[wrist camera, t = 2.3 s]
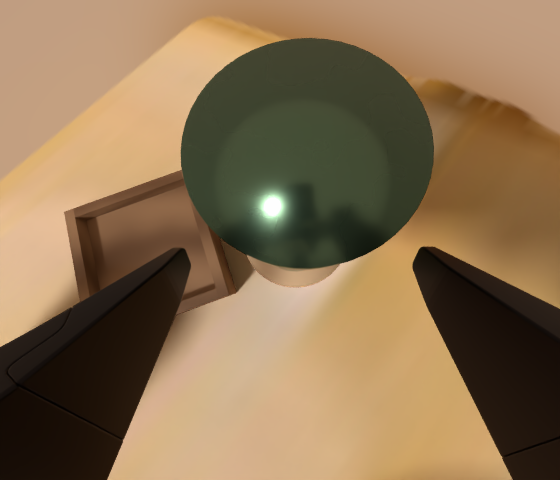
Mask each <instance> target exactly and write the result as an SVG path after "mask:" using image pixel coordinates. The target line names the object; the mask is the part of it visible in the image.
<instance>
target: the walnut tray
mask: <svg viewBox="0 0 560 480" xmlns="http://www.w3.org/2000/svg"><path fill="white" fill-rule="evenodd" d="M64 213H65V219H66V225H67V230H68V236H69V242H70V247H71V253H72V259H73V264H74V270H75V276H76V281H77V287H78V292H79V298H80V302H81V301H83V300H85V299H86V298H88V297H90V296H91V295H93V294H95V293H96V292H98V291H100V290H102V289H103V288H105V287H107V286H108V285H110V284H112V283H113V282H115V281H117V280H119V279H120V278H122V277H124V276H125V275H127V274H129V273H130V272H132V271H134V270H136V269H137V268H139V267H141V266H142V265H144V264H146V263H148V262H149V261H151V260H153V259H154V258H156V257H158V256H159V255H161V254H163V253H165V252H166V251H168V250H170V249H171V248H174V247H183V248H185V250H186V252H187V254H188V257H189V260H190V262H191V270H190V273H189V276H188V280H187V283H186V287H185V290H184V294H183V297H182V300H181V303H180V306H179V308H178V311H177V313H176V315H177V314H180V313H183V312H186V311H188V310H191V309H194V308H197V307H199V306H202V305H205V304H207V303H210V302H213V301H216V300H218V299H221V298H224V297H227V296H229V295H232V294H235V293H236V290H235V287H234V283H233V280H232V277H231V274H230V271H229V267H228V264H227V261H226V258H225V255H224V251H223V248H222V245H221V242H220V239H219V236H218V235H217V234H216V233H215V232H214V231H213V230H212V229H211V228H210V227H209V226H208V225H207V224H206V223H205V222H204V220H203V219H202V217H201V216H200V214H199V213H198V211H197V210H196V208H195V206H194V204H193V202H192V200H191V198H190V196H189V194H188V191H187V188H186V185H185V182H184V178H183V173H182V170H180V171H177V172H174V173H172V174H169V175H166V176H163V177H160V178H158V179H155V180H152V181H149V182H146V183H144V184H141V185H138V186H135V187H133V188H130V189H127V190H124V191H121V192H119V193H116V194H113V195H110V196H107V197H105V198H102V199H99V200H96V201H94V202H91V203H88V204H85V205H82V206H80V207H77V208H74V209H71V210H68V211H66V212H64Z"/></svg>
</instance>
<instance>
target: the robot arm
mask: <svg viewBox="0 0 560 480" xmlns="http://www.w3.org/2000/svg"><path fill="white" fill-rule="evenodd" d="M190 270H191V262H190V260H189V257H188V254H187V252H186V250H185V248H183V247H174V248H171V249H170V250H168V251H166V252H165V253H163V254H161V255H159V256H158V257H156V258H154V259H153V260H151V261H149V262H148V263H146V264H144V265H142V266H141V267H139V268H137V269H136V270H134V271H132V272H130V273H129V274H127V275H125V276H124V277H122V278H120V279H119V280H117V281H115V282H113V283H112V284H110V285H108V286H107V287H105V288H103V289H102V290H100V291H98V292H96V293H95V294H93V295H91V296H90V297H88V298H86V299H85V300H83V301H81V302H79V303H78V304H76V305H74V306H73V308H69V309H67V310H66V311H64V312H62V313H61V314H59V315H57V316H56V317H54V318H52V319H50V320H49V321H47V322H45V323H43V324H42V325H40V326H38V327H36V328H35V329H33V330H31V331H29V332H27V333H25V334H24V335H22V336H20V337H18V338H16V339H14V340H12V341H11V342H9V343H7V344H5V345H3V346H1V347H0V480H107V479H108V476H109V474H110V472H111V469H112V467H113V464H114V462H115V460H116V457H117V455H118V452H119V450H120V448H121V445H122V443H123V439H124V438H125V435H126V433H127V430H128V428H129V426H130V423H131V421H132V418H133V416H134V414H135V411H136V409H137V406H138V404H139V402H140V399H141V397H142V394H143V392H144V390H145V387H146V385H147V383H148V380H149V378H150V375H151V373H152V371H153V368H154V366H155V363H156V361H157V359H158V356H159V354H160V351H161V349H162V347H163V344H164V342H165V339H166V337H167V335H168V332H169V330H170V327H171V325H172V323H173V320H174V318H175V315H176V313H177V311H178V308H179V306H180V303H181V300H182V297H183V294H184V290H185V287H186V283H187V280H188V276H189V273H190ZM413 271H414V274H415V276H416V279H417V282H418V285H419V287H420V290H421V293H422V295H423V298H424V301H425V303H426V306H427V308H428V310H429V312H430V314H431V316H432V318H433V320H434V322H435V324H436V326H437V328H438V330H439V332H440V334H441V336H442V338H443V340H444V342H445V344H446V346H447V348H448V350H449V352H450V354H451V356H452V358H453V360H454V362H455V364H456V366H457V368H458V370H459V372H460V374H461V376H462V378H463V380H464V382H465V384H466V386H467V388H468V390H469V392H470V394H471V396H472V398H473V400H474V402H475V404H476V406H477V408H478V410H479V412H480V414H481V416H482V419H483V421H484V423H485V425H486V427H487V429H488V431H489V433H490V435H491V437H492V439H493V441H494V443H495V445H496V447H497V449H498V451H499V453H500V455H501V456H502V459H503V461H504V463H505V465H506V467H507V469H508V471H509V473H510V475H511V477H512V479H513V480H560V309H559V308H557V307H555V306H553V305H551V304H549V303H547V302H545V301H543V300H541V299H539V298H536V297H534V296H532V295H530V294H528V293H526V292H524V291H522V290H520V289H518V288H516V287H514V286H512V285H510V284H508V283H506V282H504V281H502V280H500V279H498V278H496V277H494V276H492V275H490V274H488V273H486V272H484V271H482V270H480V269H478V268H476V267H474V266H472V265H470V264H468V263H466V262H464V261H462V260H460V259H458V258H456V257H454V256H452V255H450V254H448V253H446V252H444V251H442V250H440V249H438V248H436V247H421V248H420V249H419V251H418V253H417V255H416V257H415V259H414V262H413Z"/></svg>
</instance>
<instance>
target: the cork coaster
mask: <svg viewBox="0 0 560 480" xmlns="http://www.w3.org/2000/svg"><path fill="white" fill-rule="evenodd" d="M247 257H248V259H249V261H250V263H251V264H252V266H253V267H254V268H255V269H256V270H257V272H258V273H259V274H261V275H262V276H263V277H264V278H266V279H268V280H269V281H271V282H273V283H275V284H278V285H282V286H286V287H305V286H309V285H313V284H315V283H318V282H320V281H322V280H323V279H325V278H326V277H328V276H329V275H330V274H331V273H332V272H333V271H334V270H335V269H336V268H337V267H338V265H339V264H336V265H332V266H328V267H324V268H320V269H311V270H303V271H287V270H283V269H281V268H278V267H275V266H272V265H268V264H266V263H264V262H261V261H259V260H257V259H255V258H253V257H250V256H248V255H247Z"/></svg>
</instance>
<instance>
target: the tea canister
mask: <svg viewBox="0 0 560 480" xmlns="http://www.w3.org/2000/svg"><path fill="white" fill-rule="evenodd" d="M433 156H434V145H433V136H432V130H431V126H430V123H429V119H428V116H427V114H426V111H425V109H424V107H423V104H422V102H421V101H420V99H419V97H418V96H417V94H416V92H415V91H414V89H413V88H412V87H411V86H410V84H409V83H408V82H407V81H406V79H405V78H404V77H403V76H402V75H400V74H399V73H398V72H397V71H396V70H395V69H394V68H393V67H392V66H390V65H389V64H387V63H386V62H385V61H383V60H382V59H380V58H379V57H377V56H375V55H373V54H372V53H370V52H368V51H365V50H363V49H361V48H358V47H356V46H353V45H350V44H346V43H343V42H339V41H333V40H328V39H315V38H302V39H291V40H284V41H279V42H275V43H271V44H267V45H265V46H262V47H259V48H257V49H254V50H252V51H250V52H248V53H246V54H244V55H242V56H240V57H239V58H237V59H236V60H234V61H233V62H231V63H230V64H228V65H227V66H225V67H224V68H223V69H222V70H221V71H220V72H218V73H217V74H216V75H215V76H214V77H213V78H212V79H211V81H210V82H209V83H208V84H207V85H206V86H205V88H204V89H203V90H202V92H201V93H200V94H199V96H198V97H197V99H196V101H195V103H194V105H193V106H192V108H191V110H190V113H189V115H188V118H187V121H186V123H185V127H184V132H183V136H182V144H181V167H182V173H183V178H184V182H185V185H186V188H187V191H188V194H189V196H190V198H191V200H192V202H193V204H194V206H195V208H196V210H197V211H198V213H199V214H200V216H201V217H202V219H203V220H204V222H205V223H206V224H207V225H208V226H209V227H210V228H211V229H212V230H213V231H214V232H215V233H216V234H217V235H218V236H219V237H220V238H222V239H223V240H224V241H225V242H226V243H228V244H229V245H231V246H232V247H234V248H236V249H237V250H239V251H241V252H242V253H244V254H246V255H248V256H250V257H253V258H255V259H257V260H259V261H261V262H264V263H266V264H268V265H272V266H275V267H278V268H281V269H283V270H287V271H303V270H311V269H320V268H324V267H328V266H332V265H336V264H340V263H344V262H348V261H351V260H353V259H356V258H358V257H361V256H363V255H366V254H367V253H369V252H371V251H373V250H374V249H376V248H378V247H380V246H381V245H383V244H384V243H385V242H387V241H388V240H389V239H390V238H392V237H393V236H394V235H396V233H397V232H398V231H399V230H400V229H401V228H402V227H403V226H404V225H405V224H406V223H407V222H408V221H409V219H410V218H411V217H412V215H413V214H414V213H415V211H416V210H417V208H418V206H419V204H420V203H421V201H422V199H423V197H424V195H425V193H426V190H427V187H428V184H429V181H430V178H431V172H432V167H433Z"/></svg>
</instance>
